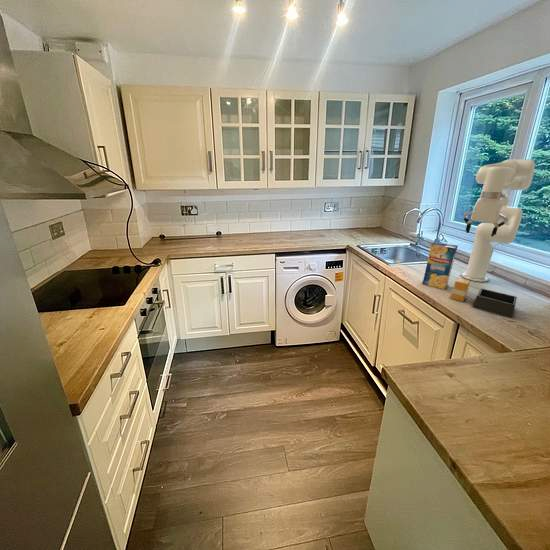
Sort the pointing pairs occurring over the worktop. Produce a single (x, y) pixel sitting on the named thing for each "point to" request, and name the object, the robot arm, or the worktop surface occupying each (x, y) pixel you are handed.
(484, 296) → the basket
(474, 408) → the worktop surface
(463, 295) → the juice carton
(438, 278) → the blue yellow food box
